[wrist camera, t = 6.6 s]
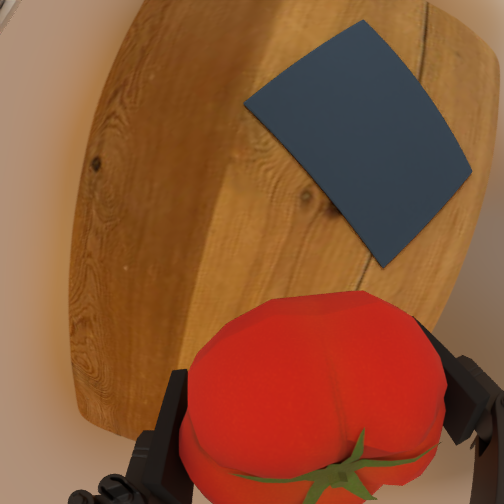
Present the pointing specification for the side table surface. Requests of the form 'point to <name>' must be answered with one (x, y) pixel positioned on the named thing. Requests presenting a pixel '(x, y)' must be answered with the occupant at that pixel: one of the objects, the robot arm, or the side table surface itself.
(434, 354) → the tomato
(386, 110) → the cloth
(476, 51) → the side table surface
